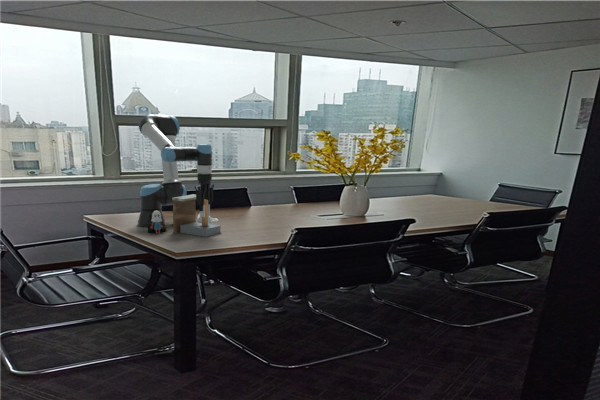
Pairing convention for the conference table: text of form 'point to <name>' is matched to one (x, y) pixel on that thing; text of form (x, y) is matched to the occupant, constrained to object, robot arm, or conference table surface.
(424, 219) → the conference table surface
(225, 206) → the conference table surface
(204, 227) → the socket board
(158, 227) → the figurine
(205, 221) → the peg
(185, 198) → the panel
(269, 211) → the conference table surface
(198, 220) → the mug
